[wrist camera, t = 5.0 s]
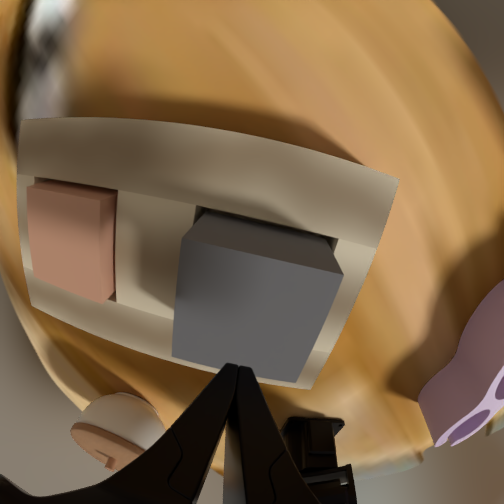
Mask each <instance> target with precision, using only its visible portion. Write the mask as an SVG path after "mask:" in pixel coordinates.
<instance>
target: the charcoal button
mask: <svg viewBox="0 0 504 504" xmlns="http://www.w3.org/2000/svg"><path fill="white" fill-rule="evenodd" d="M343 277H344V274H343V272H342V270H341V268H340V266H339V264H338V262H337V260H336V258H335V256H334V254H333V252H332V250H331V248H330V246H329V244H328V243H327V241H326V239H324V238H320V237H316V236H312V235H308V234H304V233H300V232H296V231H292V230H288V229H284V228H280V227H275V226H271V225H267V224H263V223H258V222H254V221H250V220H245V219H241V218H236V217H232V216H227V215H223V214H218V213H214V212H209V211H206V212H205V213H204V214H203V215H202V216H201V218H200V219H199V220H198V221H197V222H196V223H195V224H194V225H193V226H192V227H191V228H190V229H189V230H188V231H187V233H186V234H185V235H184V236H183V237H182V239H181V247H180V256H179V265H178V274H177V284H176V295H175V307H174V320H173V336H172V356H171V357H174V358H178V359H181V360H185V361H189V362H193V363H196V364H200V365H204V366H208V367H212V368H217V369H221V368H222V367H223V366H224V365H225V363H227V362H228V363H233V364H237V365H238V366H240V365H243V366H248V367H251V368H252V369H253V372H254V374H255V376H256V377H260V378H266V379H272V380H278V381H285V382H291V383H296V381H297V380H298V378H299V376H300V374H301V372H302V370H303V368H304V366H305V364H306V362H307V359H308V357H309V355H310V353H311V351H312V349H313V347H314V345H315V343H316V340H317V338H318V336H319V334H320V332H321V329H322V327H323V325H324V323H325V320H326V318H327V316H328V313H329V311H330V309H331V306H332V304H333V302H334V299H335V297H336V294H337V292H338V289H339V287H340V284H341V282H342V279H343Z"/></svg>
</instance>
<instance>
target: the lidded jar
mask: <svg viewBox="0 0 504 504" xmlns="http://www.w3.org/2000/svg"><path fill="white" fill-rule="evenodd" d="M70 432H71V436H72V438H73V439H74V441H75V442H76V443H77V444H78V445H79V446H80V447H81V448H82V449H83V450H85V451H86V452H87V453H88V454H90V455H91V456H93V457H94V458H95V459H97V460H99V461H100V462H102V463H104V464H106V465H105V468H106V469H108V470H109V471H112V472H113V471H114V469H116V470H118V471H119V470H121V469H122V468H124V467H125V466H126V465H128V464H129V463H130V462H132V461H133V460H134V459H136V458H137V457H139V456H140V455H141V454H142V453H144V452H145V451H146V450H147V449H148V448H150V447H151V446H152V445H153V444H154V443H155V442H156V441H157V440H158V439H159V438H160V437H161V436H162V435H163V434H164V433H165V432H166V429H165V427H164V424H163V423H162V421H161V419H160V418H159V414H158V412H157V410H156V409H155V408H154V407H153V406H152V405H151V404H149V403H148V402H146V401H145V400H143V399H141V398H140V397H137V396H135V395H133V394H129V393H125V392H118V393H115V394H110V395H105V396H102V397H99V398H97V399H96V400H94V401H93V402H91V403H90V404H89V405H88V406H87V407H86V408H85V410H84V411H83V412H82V414H81V415H80V417H79V418H78V420H77V422H76V423H75V424H74V425H73V426H72V428H71V430H70Z"/></svg>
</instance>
